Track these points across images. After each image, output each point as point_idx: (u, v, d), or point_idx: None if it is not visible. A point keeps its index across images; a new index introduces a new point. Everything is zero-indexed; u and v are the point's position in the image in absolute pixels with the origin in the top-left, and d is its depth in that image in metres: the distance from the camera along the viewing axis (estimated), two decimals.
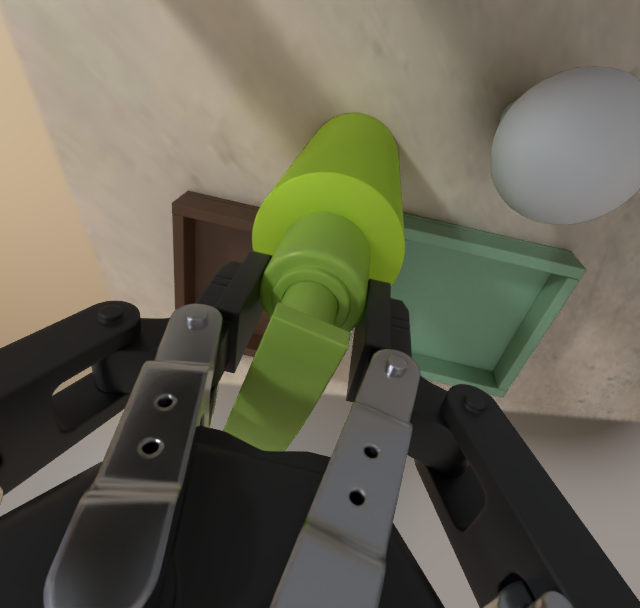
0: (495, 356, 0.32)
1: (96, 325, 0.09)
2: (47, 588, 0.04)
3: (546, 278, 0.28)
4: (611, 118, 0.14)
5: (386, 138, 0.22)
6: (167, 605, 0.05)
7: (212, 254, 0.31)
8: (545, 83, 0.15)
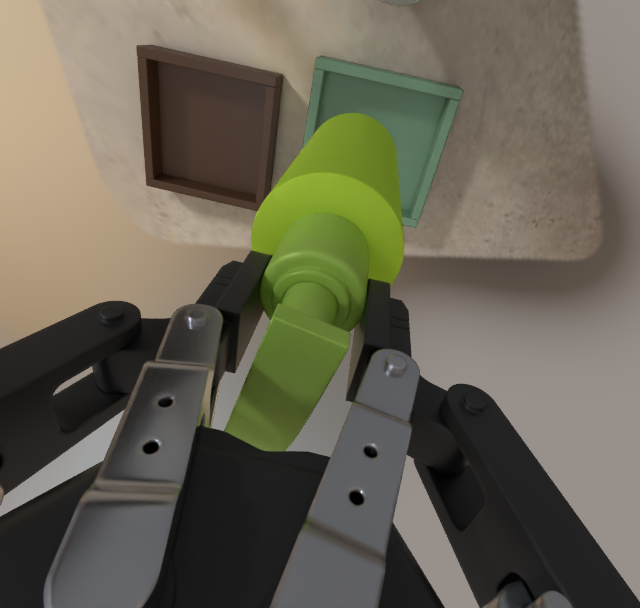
0: (410, 195, 0.39)
1: (97, 325, 0.09)
2: (47, 588, 0.04)
3: (441, 111, 0.34)
4: None
5: (384, 138, 0.22)
6: (167, 605, 0.05)
7: (173, 105, 0.37)
8: None
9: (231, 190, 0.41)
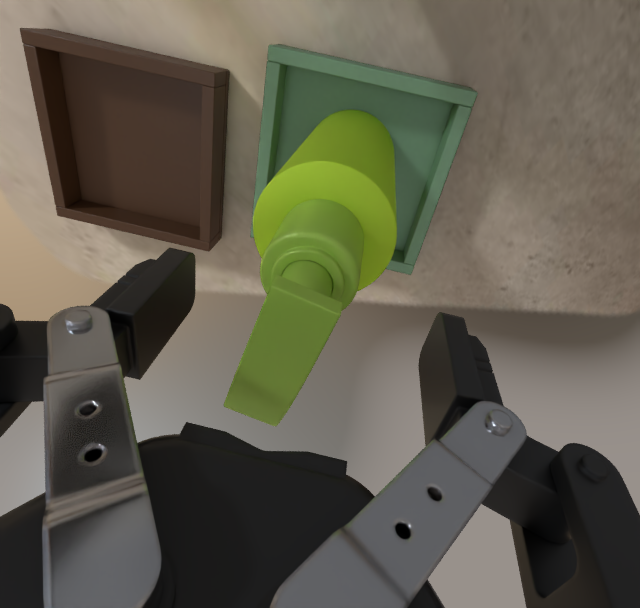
0: (403, 231, 0.29)
1: None
2: None
3: (445, 121, 0.25)
4: None
5: (381, 133, 0.23)
6: (170, 578, 0.05)
7: (86, 110, 0.28)
8: None
9: (171, 221, 0.31)
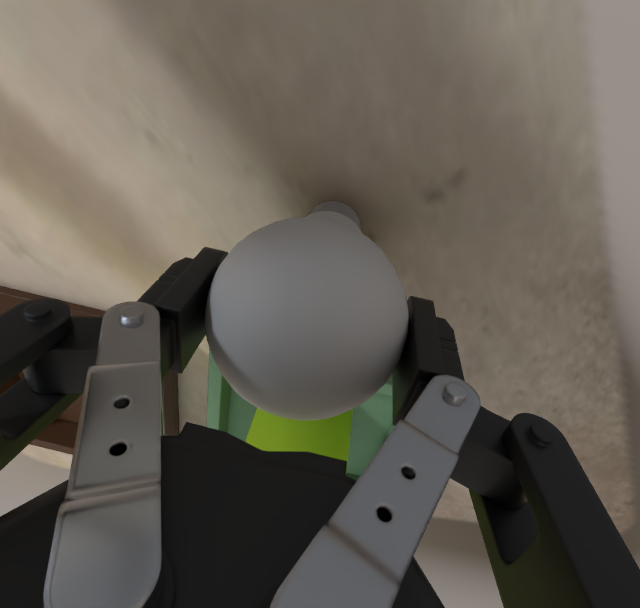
0: (366, 463, 0.28)
1: (24, 325, 0.08)
2: (45, 602, 0.04)
3: None
4: (285, 324, 0.09)
5: (332, 430, 0.21)
6: (170, 589, 0.05)
7: None
8: (241, 244, 0.11)
9: None
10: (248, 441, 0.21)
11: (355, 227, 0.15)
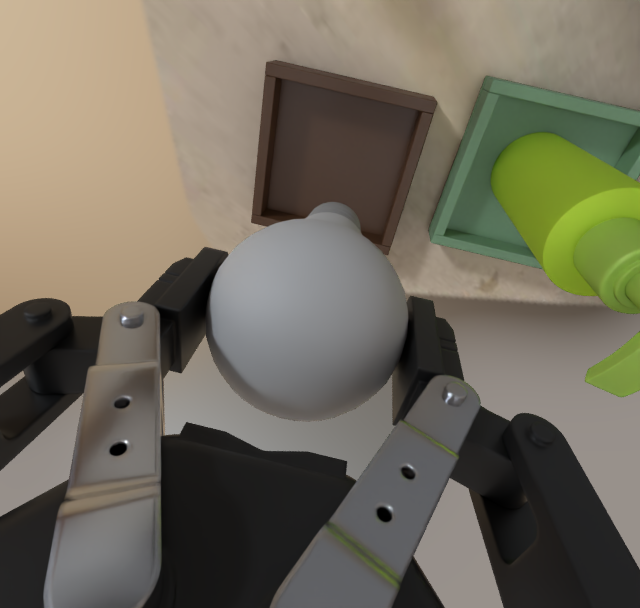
0: None
1: (24, 325, 0.08)
2: (45, 603, 0.04)
3: (627, 143, 0.29)
4: (285, 325, 0.09)
5: None
6: (170, 590, 0.05)
7: (293, 130, 0.31)
8: (241, 246, 0.11)
9: None
10: (521, 162, 0.26)
11: (355, 228, 0.15)
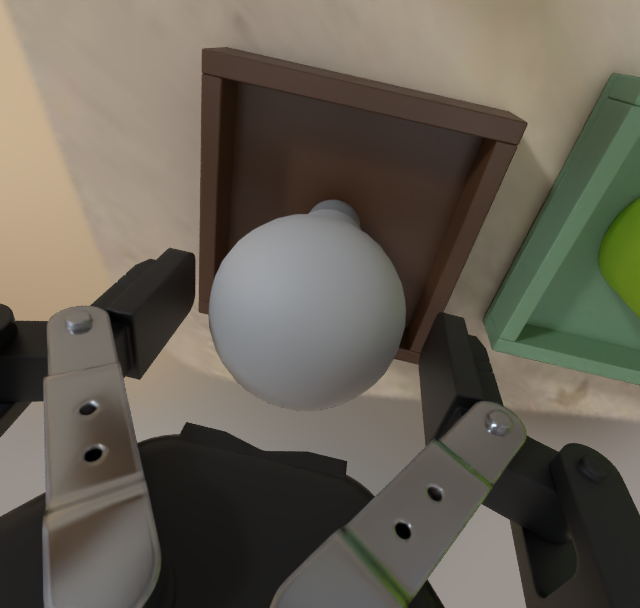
0: None
1: None
2: None
3: None
4: (286, 315, 0.10)
5: None
6: (170, 578, 0.05)
7: (262, 168, 0.18)
8: (243, 240, 0.11)
9: None
10: None
11: (354, 225, 0.16)
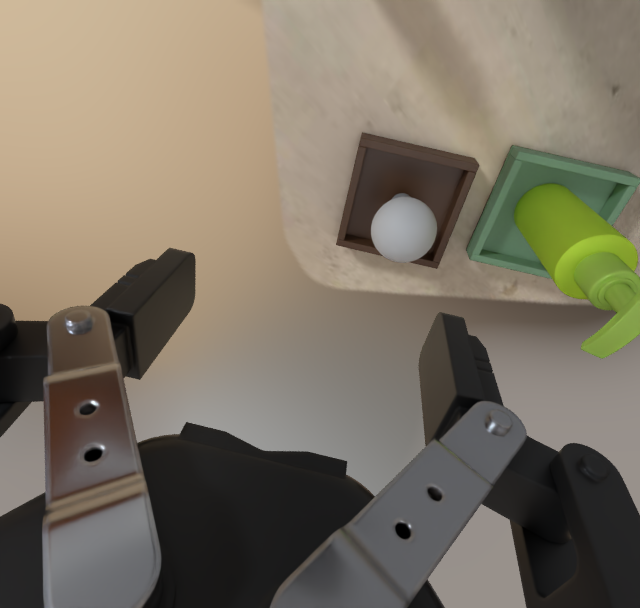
0: None
1: None
2: None
3: (611, 191, 0.41)
4: (405, 224, 0.35)
5: None
6: (170, 578, 0.05)
7: (371, 180, 0.44)
8: (387, 204, 0.37)
9: None
10: (538, 207, 0.39)
11: None
